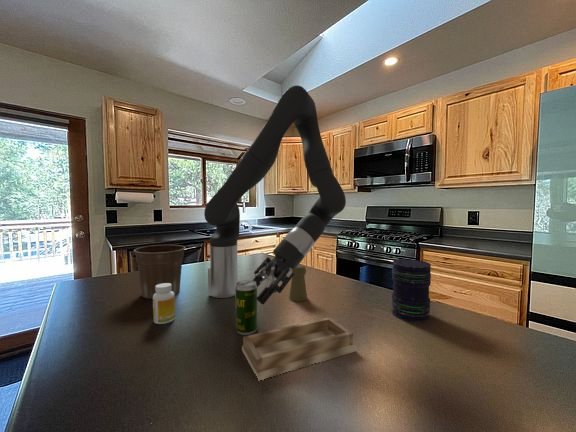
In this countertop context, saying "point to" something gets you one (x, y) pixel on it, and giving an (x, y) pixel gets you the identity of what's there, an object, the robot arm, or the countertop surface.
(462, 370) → the countertop surface
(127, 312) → the countertop surface
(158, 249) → the plant pot
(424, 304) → the storage jar
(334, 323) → the wooden rimmed tray
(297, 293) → the cork
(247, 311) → the beer can
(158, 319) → the supplement bottle
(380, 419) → the countertop surface
